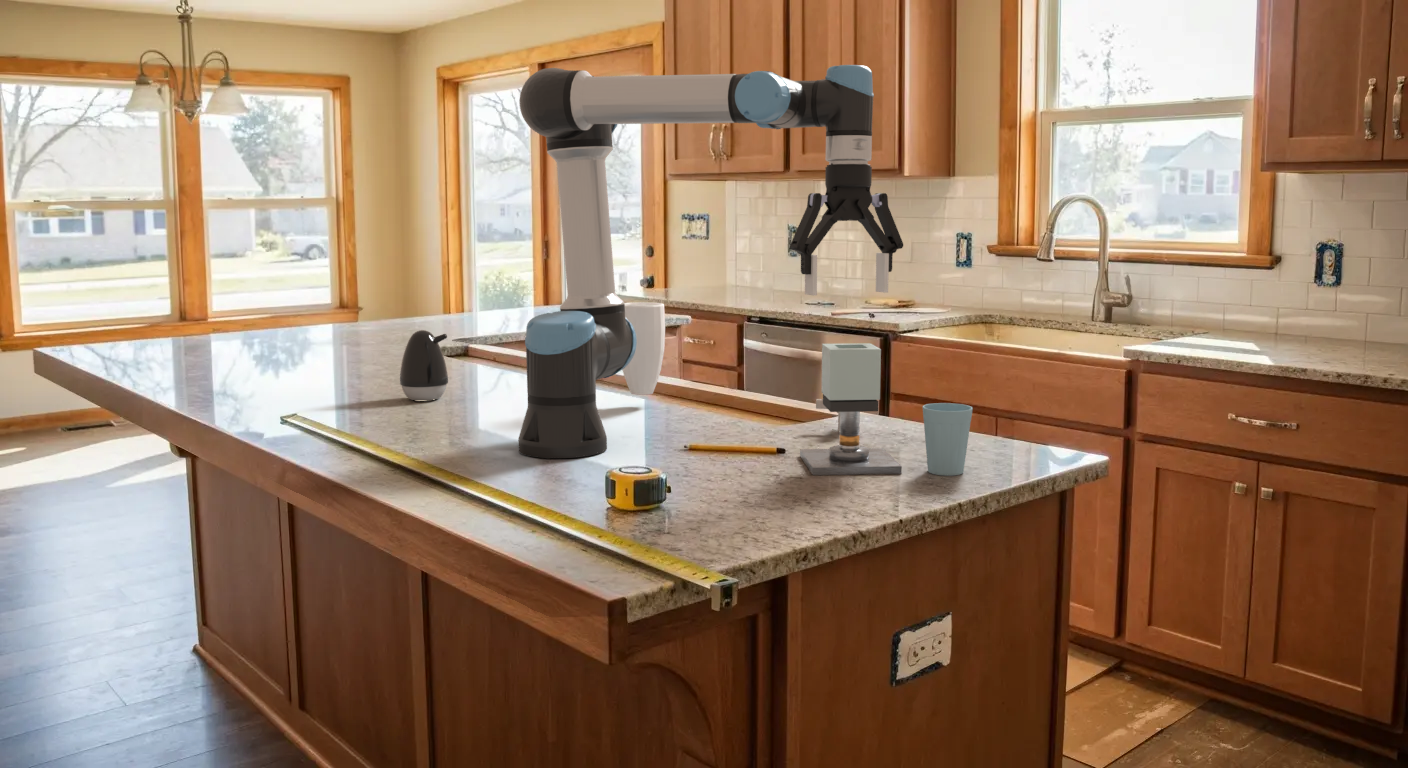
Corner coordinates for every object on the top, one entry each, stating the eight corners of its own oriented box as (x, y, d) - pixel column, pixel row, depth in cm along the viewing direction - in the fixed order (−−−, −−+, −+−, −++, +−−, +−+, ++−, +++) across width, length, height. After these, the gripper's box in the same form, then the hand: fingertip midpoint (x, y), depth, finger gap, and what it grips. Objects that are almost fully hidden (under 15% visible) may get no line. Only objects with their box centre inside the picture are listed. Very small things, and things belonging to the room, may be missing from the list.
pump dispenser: (443, 403, 251) (441, 332, 249) (395, 403, 252) (392, 332, 249) (454, 395, 261) (452, 327, 259) (407, 395, 262) (404, 327, 259)
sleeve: (829, 400, 185) (830, 349, 184) (821, 392, 193) (822, 343, 192) (879, 399, 186) (880, 349, 185) (869, 391, 194) (870, 343, 192)
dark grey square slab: (830, 411, 186) (830, 401, 186) (822, 403, 193) (822, 394, 193) (878, 411, 186) (878, 401, 186) (868, 403, 194) (868, 393, 193)
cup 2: (676, 405, 248) (676, 303, 245) (648, 412, 239) (647, 306, 236) (636, 401, 254) (635, 301, 250) (607, 408, 245) (605, 304, 242)
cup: (976, 477, 182) (978, 410, 181) (928, 478, 182) (929, 411, 180) (963, 466, 190) (964, 402, 188) (916, 467, 189) (917, 403, 188)
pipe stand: (812, 475, 184) (813, 389, 182) (800, 456, 198) (800, 376, 196) (901, 473, 185) (903, 388, 183) (882, 455, 198) (884, 375, 196)
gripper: (791, 161, 184) (790, 297, 187) (925, 163, 194) (922, 292, 197) (770, 163, 191) (769, 294, 194) (900, 164, 201) (898, 289, 204)
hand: (846, 293), depth 196 cm, fingers open, 13 cm apart
